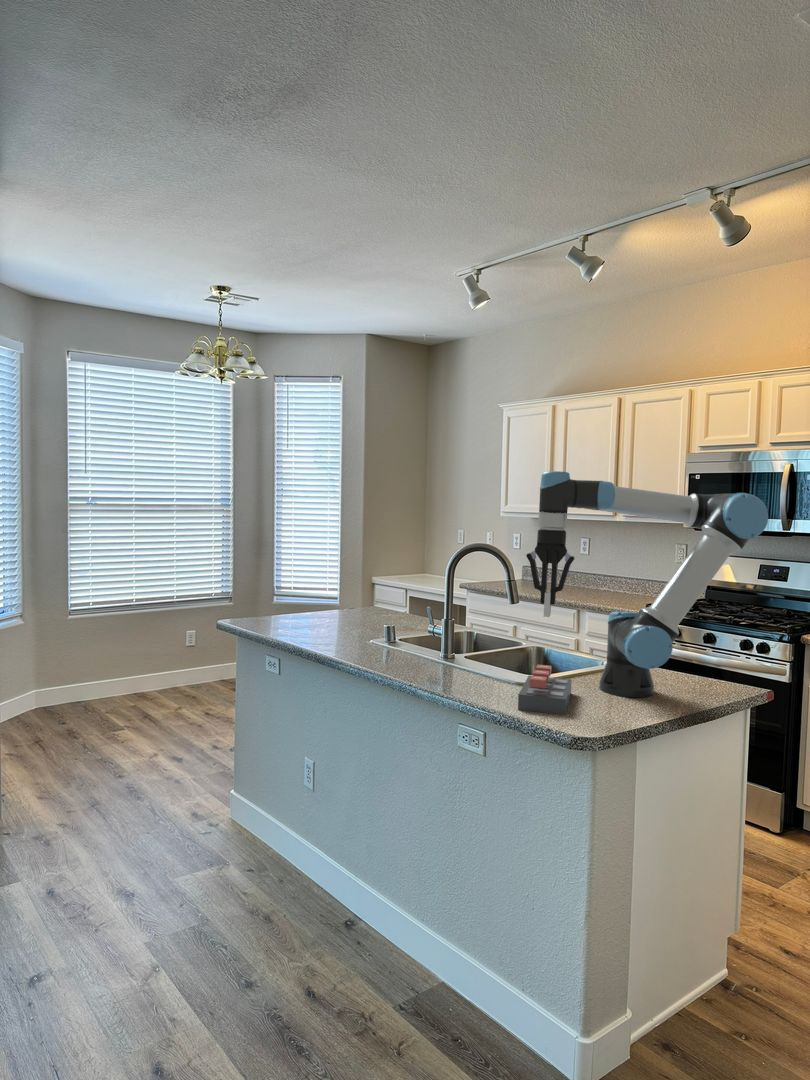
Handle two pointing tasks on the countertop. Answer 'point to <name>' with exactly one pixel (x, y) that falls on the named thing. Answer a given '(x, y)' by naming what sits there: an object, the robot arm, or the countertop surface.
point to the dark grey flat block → (546, 696)
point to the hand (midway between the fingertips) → (546, 616)
